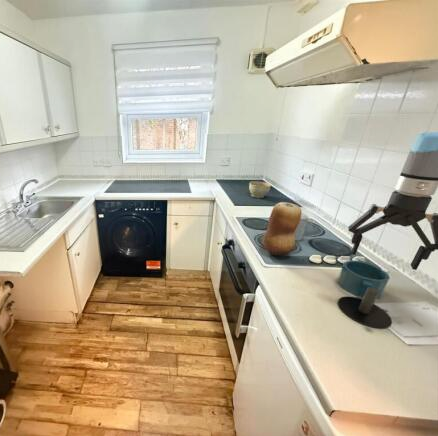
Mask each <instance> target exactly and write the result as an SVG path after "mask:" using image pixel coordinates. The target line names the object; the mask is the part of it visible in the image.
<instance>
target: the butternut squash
mask: <svg viewBox="0 0 438 436" xmlns="http://www.w3.org/2000/svg"><path fill="white" fill-rule="evenodd" d="M301 213H302V214H303V211H302V208H301V207H300V206H299V205H298V204H294V203H291V202H286V201H285V202H284V201H281V202H277V204H275V205H273V208H272V209H271V213H270V215H269V217H268V218H269V219H268V226H267V228H266V231H265V232H264V234H263V236H262V243H263V246H264V248H265V250H267V252H268V253H269V254H270V255H272V256H285V255H288V254H290V253H291V252H292V251H294V249H295V246H296V240H295V236H294V232H295V230H296V228H297V226H298V224H299V222H300V219H301Z"/></svg>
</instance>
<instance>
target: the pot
mask: <svg viewBox="0 0 438 436" xmlns="http://www.w3.org/2000/svg"><path fill="white" fill-rule="evenodd" d="M389 281H390V275H389V273H387V272H386V270H384V269H382V268H380V267H379V266H376V265H373V264H371V263H368V262H367V261H365V260H361V259H357V260H347V261H345V262H343V264H342V267H341V269H340V272H339V274H338V277H337V284H338V286H339V287H340V288H341V289H343V290H344V291H345V292H347V293H349V294H351V295H353V296H354V297H357V298H360V299H363V297H364V295H365V292H366V290H367V288H368V287H371V288H375V289H377V290H378V291H379V294H378V296H377V298H376V300H378V299H380V298H381V297H382V295H383V293H384V291H385V288H386V287H387V285H388V283H389Z"/></svg>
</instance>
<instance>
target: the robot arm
mask: <svg viewBox="0 0 438 436" xmlns="http://www.w3.org/2000/svg"><path fill="white" fill-rule="evenodd" d="M437 189H438V132H435V131H434V132H433V131H429V132H428V131H427V132H422V133H419V134H418V135H417V136H416V138H415V140H414V141H413V143H412V145H411V147H410V148H409V150H408V155H407V157H406V160H405V162H404V164H403V167H402V169H401V172H400V174H399V176H398V179H397V181H396V183H395V185H394V191H392V192H391V195H390V196H389V200H388V202H387V204H386V205H385V206H384V207H383V206H380V205H377V204H376V203H373V204H371V205H370V207H369V209H368V210H367V211H366V212H365V213H364V214H362V215H361V216H360V217H358V218H357V219H355V220H354V221H353V222H352V223H351V224H350V225H349V226H348V227H347V229H348V232H349V233H352V237H351V239H350V240H351V244H353V246H352V249H351V255H353V256H356V254H357V252H358V250H359V247H360V245H361V242H362V240H363V234H365V233H367V232H369V231H371V230H373V229H374V230H375V229H376V228H379V227H380V226H383V225H386V224H388V223H389V224H390V225H393V226H394V225H395V226H396V225H397V226H401V227H404V228H407V227H412V229H413V230H414V231H415V233H416V234H417V236H418V238H419V239H420V240H421V242H422V243H423V245H419V247H418V249H417V251H416V253H415V255H414V257H413V259H412V260H411V262H410V267H411V269H412V270H415V271H417V270H418V268H419V266H420V264H421V262H422V261H423V260H424V261H427V260H428V259H429V258H430V255H431V254H432V252H435V251H438V213H437V212H434V213H426V212H427V210H428V208H429V206H430V204H431V201H432V200H433V197H432V196H434V195H435V194H436V191H437ZM380 212H382V213H383V215H381V216H379V217H378V218H377V219H375V220H372V221H370V222H368V223H366V222H367V221H368V220H370V219H371V218H373V216H374V215H376V214H379V213H380ZM425 219H426V220H427V222H428V223H429V225H430V229H431V232H432V237H433V241H434V243H431V241H430V239H429V238H428V237H427V235H426V234H425V232H424V231H423V229H422V228H421V226H420V225H419V222H421V221H423V220H425ZM363 224H364V225H363Z"/></svg>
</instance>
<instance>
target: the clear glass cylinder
mask: <svg viewBox="0 0 438 436" xmlns="http://www.w3.org/2000/svg"><path fill="white" fill-rule="evenodd" d="M309 218H310V217H309V215H307V214H306V213H303V212H302V213H301V219H300V222H299V224H298V226H297V228H296V230H295V232H294V236H295V241H300V240H303V237H304V234H305V230H306V227H307V223H308V221H309Z"/></svg>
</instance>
